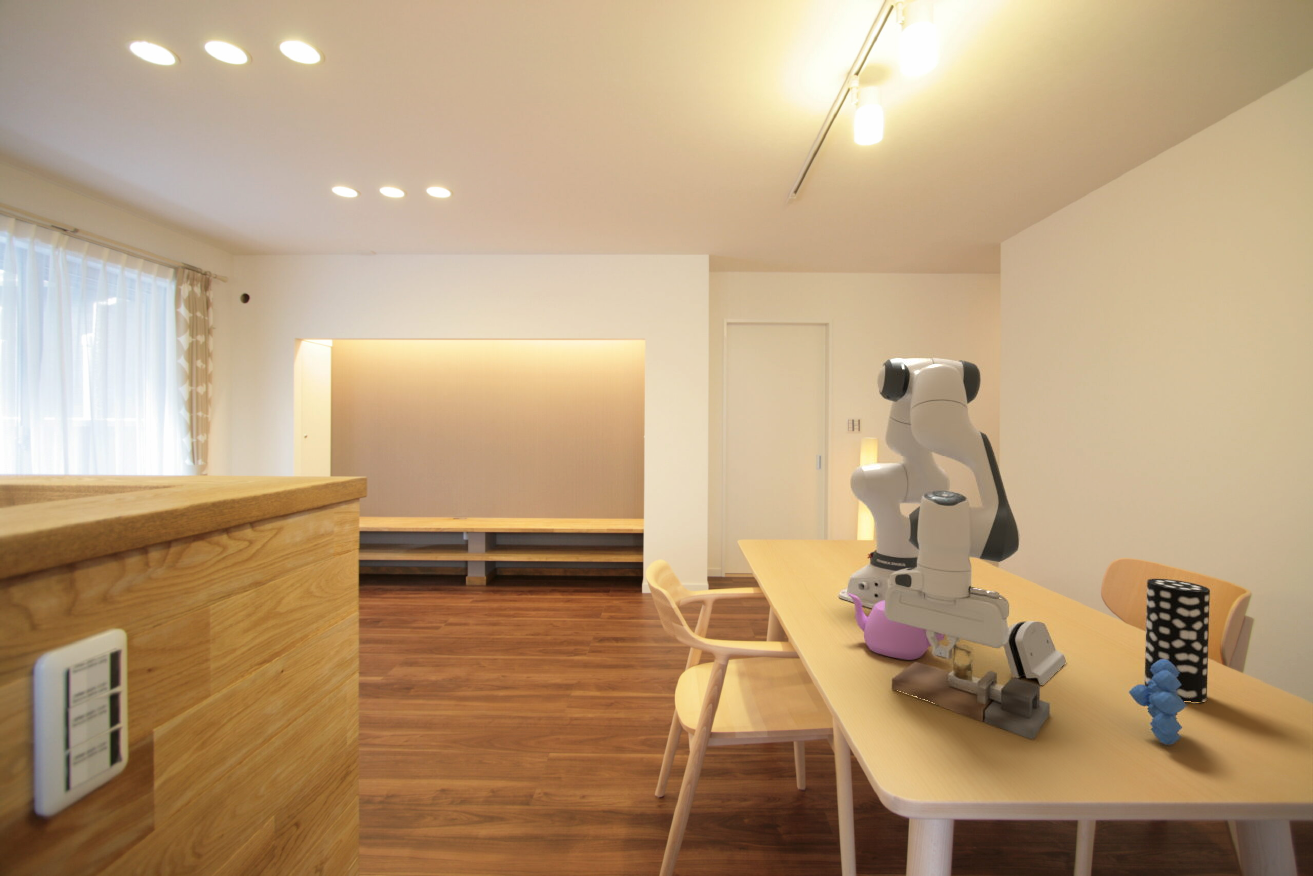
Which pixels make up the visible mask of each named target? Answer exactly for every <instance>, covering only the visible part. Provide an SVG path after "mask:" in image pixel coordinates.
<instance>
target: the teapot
mask: <svg viewBox="0 0 1313 876" xmlns="http://www.w3.org/2000/svg"><path fill="white" fill-rule="evenodd" d="M847 594H848V595H849V596H850V597H851V598H852V600H853V601H854V602H853V604H854V613H855V621H856V623H857V626H858V627H859V629H860V630H862V631H863V639H864V642H865V643H866V646H867V647H868V648H869V650H870V651H872V652H874V653H875V654H878V655H882V656H886V657H889V658H895V659H899V660H907V661H914V660H917V659H920V658H921V657H922V656H923V655H924V654H925V653H926V652H927V650H928V649H929V647H931V646H932V645H931V644H930V642H929V640H928V638H927V636H926V630H925V629H921V628H917V627H914V626H910V625H906V624H902V623H898V622H895V621H891V620H889V619H888V618H887V617H886V615H885V601H880V602H878V603H877V604H875V606H874V607H873V609H872V608H871V611H870V612H869V614H868V616H867V615H866V614H865V612H864V610H863V605H862V603H861V601H860V599H859V598H858V597H857V596H856V595H853V594H851V593H847ZM936 638H937V640H938V642H939V643H940V642H941V641H944V639H945V635H944V634H940V633H938V634H937V635H936Z"/></svg>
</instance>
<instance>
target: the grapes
mask: <svg viewBox="0 0 1313 876" xmlns="http://www.w3.org/2000/svg"><path fill="white" fill-rule="evenodd" d="M1150 671H1151V672H1152V673H1153V675H1154V676H1153V677H1152V679H1151V680H1149V681H1148V683H1147V684H1148V685H1149V686H1148V687H1147V686H1145V684H1141V683H1140V684H1137V685H1134V687H1132V688H1131V689H1129V691H1128V693H1129V694H1130V696H1131V697H1132V699H1133V700H1134V701H1135V702H1136V703H1137V705H1140V706H1142V707H1147V713H1148V714H1149V715H1150V716H1151V717H1152V719H1151V722H1149V725H1150V726H1151V727H1152V728H1150V730H1151V732H1152V733H1153V735H1154V736H1155V737H1156V738H1157V740H1158V741H1159V742H1160V743H1162V744H1163V745H1165V746H1170V745H1173V744H1175V743H1176V742H1177V741H1178V740H1180V739H1181V738H1182V737H1181V736H1180V734H1179V731H1181V730H1182V729H1183V726H1182V725H1181V724H1180V722H1179V721H1178V720H1177V719H1178V718H1177V715H1178V713H1180V712H1181V711H1183V710H1184V709H1185V708H1186V707H1187V703H1186V702H1184V701H1183V700H1182V699H1181V698H1180V697H1179V696H1178V695H1177V693H1176V692H1177V690H1176V689H1177V688H1179V687H1180V686H1181V685H1182V684H1181V683H1180V682H1179V681H1178V679H1177V678H1176V677H1178V674H1179V673H1180V672H1179V671H1178V670H1177V668H1176V667H1175V666H1174V665H1173V664H1172V663H1171V662H1170V661H1168V660H1167V659H1160V660H1158V661H1157V662H1155V663H1154V664H1153V665H1152V666H1151V669H1150Z"/></svg>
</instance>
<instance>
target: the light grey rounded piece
mask: <svg viewBox="0 0 1313 876" xmlns="http://www.w3.org/2000/svg"><path fill="white" fill-rule="evenodd" d="M1003 648H1004V652H1005V656H1006V658H1007V659H1006V660H1007V663H1008V666H1009V668H1010V669H1009V670H1010V672H1011V677H1012V676H1014V677H1016V679H1020V678H1021V677H1022V676H1023V677H1026V679H1037V681H1038V683H1039V684H1038V685H1040V686H1041V685H1044V684H1045V683H1046V682H1047V681H1048V680H1049V679H1050V678H1051V677H1052V676H1053V675H1054V674H1055V673H1056V672H1057V671H1058V670H1059V669H1060V668H1061V667H1062V666H1063V665H1064V664H1065V663H1066V662H1067V659H1066V657H1065V655H1064V653H1062V652H1061V651H1059V650H1058V649H1057V648H1056V647H1055V644H1054V642H1053V640H1052V637H1051V635H1050V633H1049V630H1048V628H1047V625H1046V624H1045V623H1044V622H1042V621H1036V620H1035V621H1034V620H1028V621H1019V622H1017V623H1012V624H1011V625H1010V626H1009V627H1008V642H1007V643H1006V644H1005V645H1004V646H1003ZM1066 664H1067V663H1066ZM1066 664H1065V665H1066ZM1065 665H1064V666H1065ZM1064 666H1063V667H1064ZM1063 667H1062V668H1063ZM1062 668H1061V669H1062ZM1061 669H1060V670H1061ZM1060 670H1059V671H1060ZM1059 671H1058V672H1059ZM1058 672H1057V673H1058ZM1057 673H1056V674H1057ZM1056 674H1055V675H1056ZM1055 675H1054V676H1055ZM1054 676H1053V677H1054ZM1014 677H1013V678H1014ZM1053 677H1052V678H1053ZM1052 678H1051V679H1052ZM1051 679H1050V680H1051ZM1050 680H1049V681H1050ZM1049 681H1048V682H1049ZM1048 682H1047V683H1048ZM1047 683H1046V684H1047ZM1046 684H1045V685H1046ZM1045 685H1044V686H1045Z"/></svg>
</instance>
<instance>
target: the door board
mask: <svg viewBox="0 0 1313 876" xmlns="http://www.w3.org/2000/svg"><path fill="white" fill-rule="evenodd" d="M950 672H951V671H947V670H944V669H942V668H937V667H935V666H931V665H928V664H924V663H922V662H918V661H915V662H913V663H912V664H911V665H909V666H908V667H906V668H905V669H903V670H902V671H900V673H898V674H896V675H895V676H893V678H891V690H892V689H895V690H898V691H901V692H904V693H907V694H909V695H913V696H917V697H918V698H921V699H925V700H928V701H930V702H933V703H935V704H937V705H940V706H942V707H944V708H943V709H945V708H947V709H946V710H948V709H949V711H951V712H953V713H957V714H959V715H962V716H964V717H965V716H966V717H968V718H970V719H973V720H976V721H979V722H982V723H983V722H984V723H985V724H987V725H990V726H993V727H996V728H999V729H1001V730H1004V731H1007V732H1010V733H1013V734H1016V735H1019V736H1021V737H1025V738H1027V739H1029V740H1032V741H1033V740H1034V739H1035V737H1036V736H1037V735H1038V733H1039V731H1041V729H1042V727H1043V725H1044V724H1045V722H1046V720H1047V719H1048V718H1049V716H1050V709H1051V707H1050V704H1051V703H1050V702H1048V701H1045V700H1041V699H1040V694H1041V693H1040V687H1041V685H1040V684H1036V683H1034V682H1033V683H1032V682H1029V681H1025V680H1022V679H1020V678H1014V677H1012V676H1011V678H1010V679H1009V680H1008V681H1007V683H1005V685H1003V686H1004V687H1003V688H1002V689H1001V702H998V701H995V700H991V699H988V686H989V685H990V684H991V683H992V682H993V683H996V684H998V681H997V680H998V672H995V671H992V670H988V671H987V672H986V673H985V674H984V675H983V676H982V677H981V678H980V680H979V681H978V689H977V695H976V694H973V693H970V692H967V691H964V690H961V689H958V688H955V687H952V686H949V685H948V674H949V673H950ZM895 690H894V691H895ZM909 695H908V696H909ZM937 705H936V706H937ZM940 706H939V707H940ZM942 707H941V708H942Z"/></svg>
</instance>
